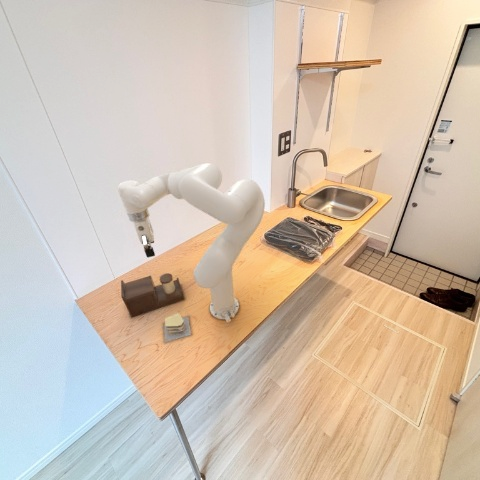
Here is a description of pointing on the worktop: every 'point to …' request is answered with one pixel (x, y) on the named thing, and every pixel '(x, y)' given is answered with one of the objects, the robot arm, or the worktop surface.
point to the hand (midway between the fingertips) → (150, 249)
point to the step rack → (148, 295)
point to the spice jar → (167, 283)
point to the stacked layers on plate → (176, 327)
